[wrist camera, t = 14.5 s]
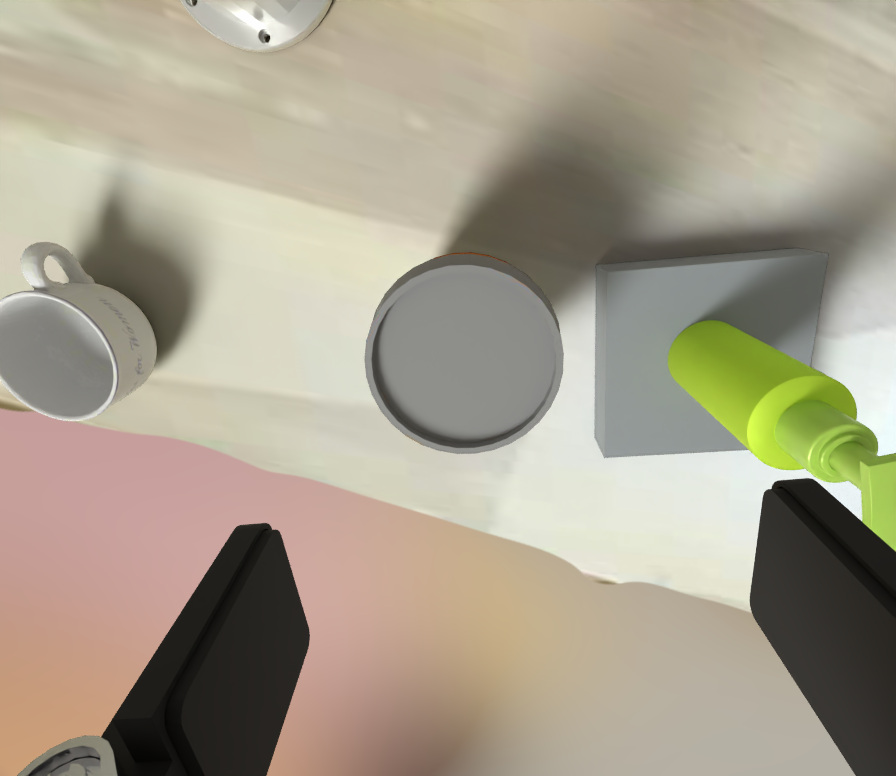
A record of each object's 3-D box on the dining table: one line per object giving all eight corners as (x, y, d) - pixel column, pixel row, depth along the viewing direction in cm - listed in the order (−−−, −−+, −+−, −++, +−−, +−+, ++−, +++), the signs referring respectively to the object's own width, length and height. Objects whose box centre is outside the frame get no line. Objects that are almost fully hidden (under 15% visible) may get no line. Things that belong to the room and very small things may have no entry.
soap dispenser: (673, 408, 43) (826, 574, 25) (663, 330, 41) (821, 447, 22) (747, 392, 42) (962, 550, 24) (740, 311, 40) (972, 416, 22)
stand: (596, 264, 43) (607, 272, 40) (797, 247, 42) (828, 253, 38) (594, 437, 49) (604, 457, 45) (771, 426, 48) (797, 447, 44)
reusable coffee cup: (373, 265, 44) (326, 301, 30) (515, 214, 42) (535, 227, 28) (424, 395, 48) (403, 479, 34) (556, 354, 46) (591, 426, 32)
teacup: (171, 399, 50) (117, 436, 42) (58, 373, 50) (-16, 407, 42) (175, 253, 45) (115, 267, 37) (49, 224, 45) (-37, 232, 37)
